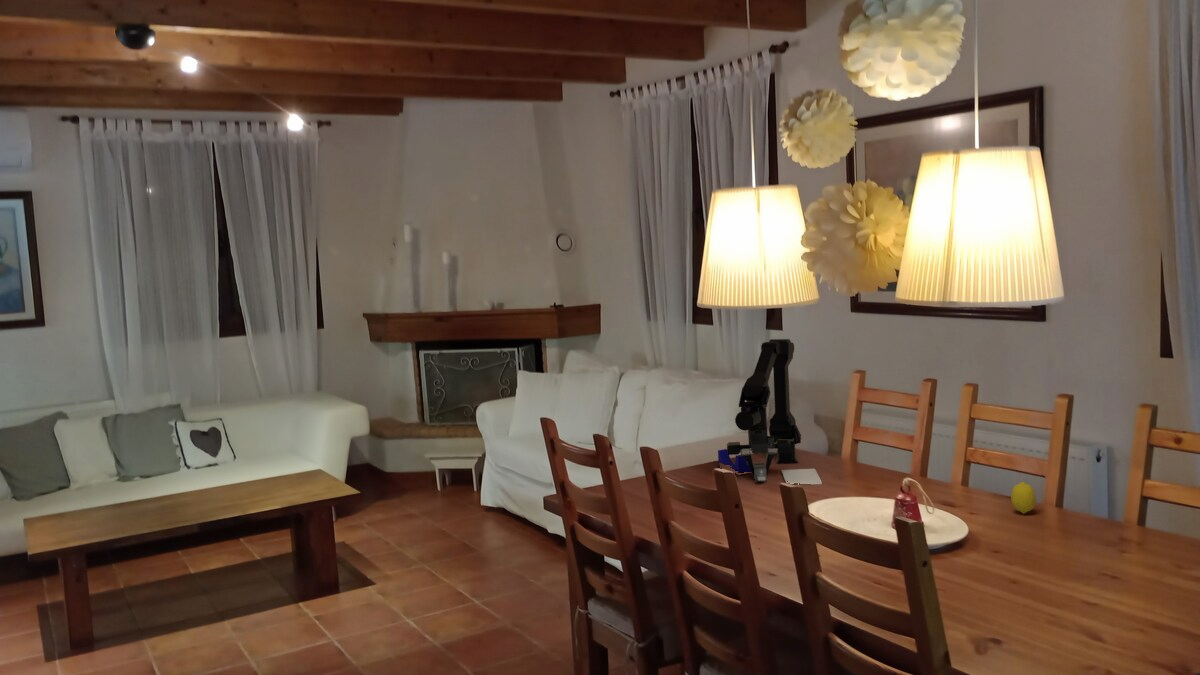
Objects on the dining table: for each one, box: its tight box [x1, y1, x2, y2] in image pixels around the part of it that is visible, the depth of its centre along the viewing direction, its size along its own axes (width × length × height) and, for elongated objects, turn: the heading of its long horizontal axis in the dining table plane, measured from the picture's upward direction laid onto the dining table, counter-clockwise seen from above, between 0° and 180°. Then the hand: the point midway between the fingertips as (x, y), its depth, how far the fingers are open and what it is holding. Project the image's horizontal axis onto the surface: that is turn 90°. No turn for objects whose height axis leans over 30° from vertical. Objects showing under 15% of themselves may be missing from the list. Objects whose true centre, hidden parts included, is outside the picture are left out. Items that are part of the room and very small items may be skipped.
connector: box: [752, 461, 768, 483], centre depth 283 cm, size 4×12×4 cm, turn 174°
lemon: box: [1010, 481, 1037, 515], centre depth 232 cm, size 6×6×8 cm
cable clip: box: [717, 448, 751, 475], centre depth 297 cm, size 12×4×6 cm, turn 24°
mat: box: [781, 468, 823, 486], centre depth 282 cm, size 16×10×1 cm, turn 174°
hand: (759, 475), depth 284 cm, fingers closed on connector, 3 cm apart
